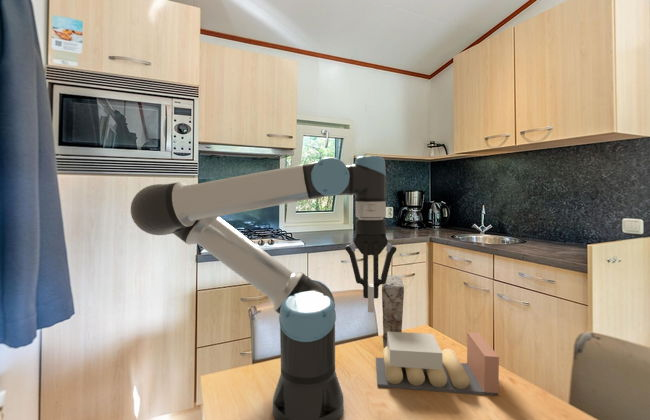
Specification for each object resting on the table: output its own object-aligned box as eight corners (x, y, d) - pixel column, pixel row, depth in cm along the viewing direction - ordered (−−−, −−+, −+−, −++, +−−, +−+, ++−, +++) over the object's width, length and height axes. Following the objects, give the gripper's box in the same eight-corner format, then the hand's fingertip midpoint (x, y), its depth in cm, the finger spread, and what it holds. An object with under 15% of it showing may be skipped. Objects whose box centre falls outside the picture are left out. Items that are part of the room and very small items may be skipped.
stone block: (406, 355, 87) (407, 285, 86) (382, 354, 88) (382, 285, 87) (399, 334, 100) (399, 273, 99) (377, 333, 101) (377, 273, 100)
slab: (390, 366, 73) (390, 350, 73) (387, 345, 83) (387, 331, 83) (442, 369, 72) (442, 353, 71) (432, 348, 82) (433, 333, 81)
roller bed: (377, 386, 73) (377, 367, 73) (375, 359, 85) (375, 343, 85) (498, 395, 69) (498, 375, 69) (478, 366, 81) (479, 349, 81)
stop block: (484, 394, 70) (484, 356, 69) (466, 365, 82) (467, 332, 81) (498, 395, 69) (499, 356, 69) (478, 366, 81) (479, 333, 81)
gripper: (343, 219, 74) (344, 315, 75) (398, 219, 73) (398, 317, 74) (345, 217, 82) (346, 304, 83) (395, 217, 80) (395, 306, 81)
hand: (370, 310), depth 78 cm, fingers closed
